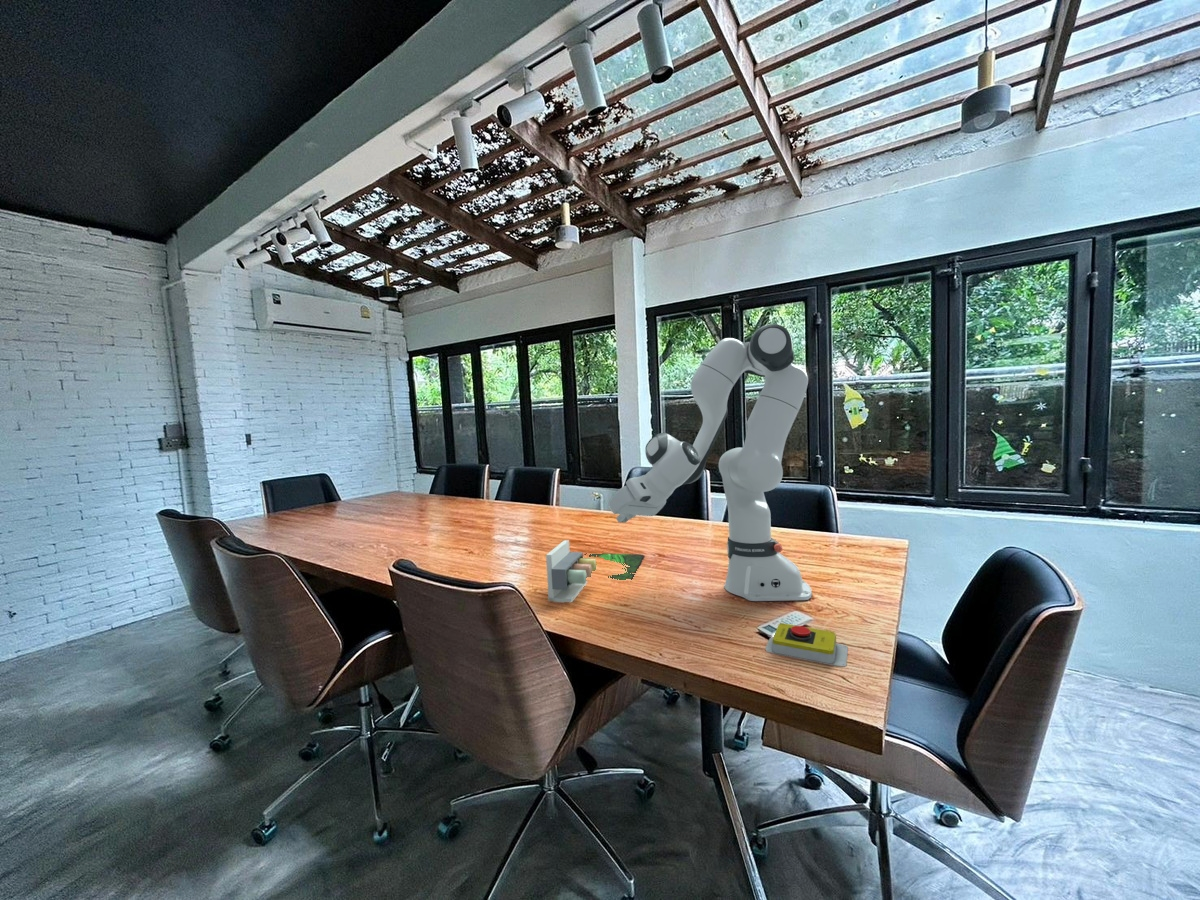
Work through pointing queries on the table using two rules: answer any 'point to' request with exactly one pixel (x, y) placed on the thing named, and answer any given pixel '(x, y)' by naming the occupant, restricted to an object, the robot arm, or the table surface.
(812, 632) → the emergency button
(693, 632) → the table surface
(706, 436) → the robot arm
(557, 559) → the console
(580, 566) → the terracotta button
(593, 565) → the mustard button
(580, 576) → the sage button
